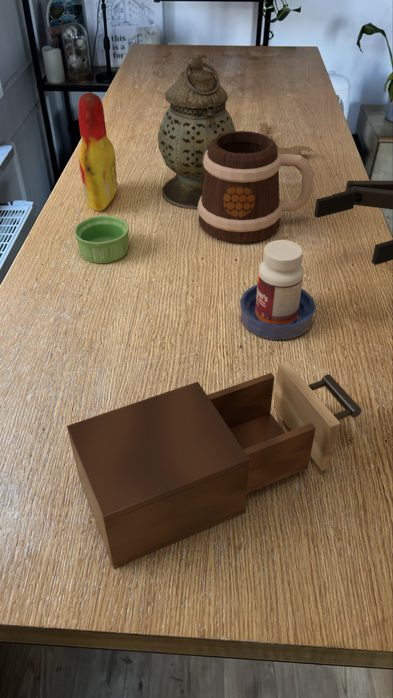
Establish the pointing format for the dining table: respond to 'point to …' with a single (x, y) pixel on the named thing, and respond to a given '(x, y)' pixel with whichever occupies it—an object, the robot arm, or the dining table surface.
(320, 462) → the drawer
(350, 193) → the robot arm
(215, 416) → the cabinet
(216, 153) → the mug
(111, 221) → the ramekin
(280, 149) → the jawbone
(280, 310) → the pill bottle
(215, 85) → the lantern
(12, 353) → the dining table surface
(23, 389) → the dining table surface
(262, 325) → the bowl
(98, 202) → the bottle
